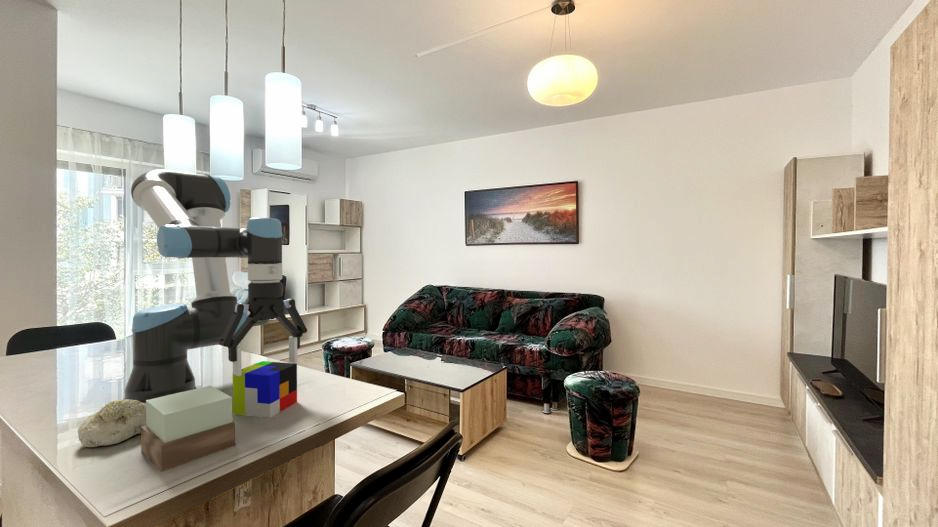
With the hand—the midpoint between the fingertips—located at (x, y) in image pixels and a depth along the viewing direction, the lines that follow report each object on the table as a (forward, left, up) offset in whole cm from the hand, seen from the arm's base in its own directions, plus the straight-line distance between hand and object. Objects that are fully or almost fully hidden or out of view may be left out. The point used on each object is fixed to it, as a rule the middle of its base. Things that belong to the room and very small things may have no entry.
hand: (266, 368), depth 97 cm
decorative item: (-9, -26, -10) cm, 29 cm away
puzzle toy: (0, 0, -10) cm, 10 cm away
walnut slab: (+8, -19, -10) cm, 23 cm away
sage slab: (+7, -19, -5) cm, 21 cm away
